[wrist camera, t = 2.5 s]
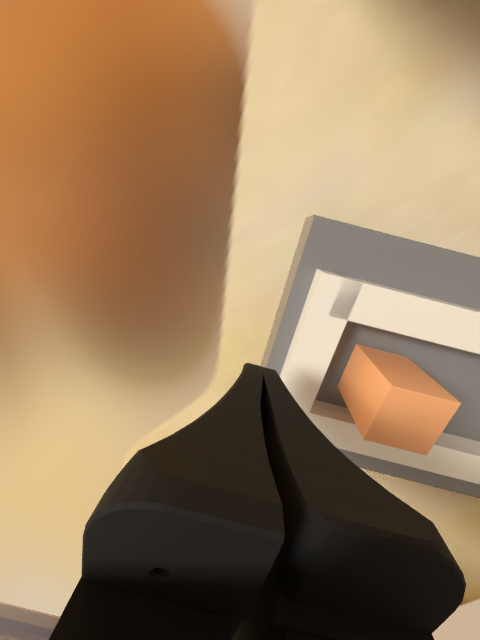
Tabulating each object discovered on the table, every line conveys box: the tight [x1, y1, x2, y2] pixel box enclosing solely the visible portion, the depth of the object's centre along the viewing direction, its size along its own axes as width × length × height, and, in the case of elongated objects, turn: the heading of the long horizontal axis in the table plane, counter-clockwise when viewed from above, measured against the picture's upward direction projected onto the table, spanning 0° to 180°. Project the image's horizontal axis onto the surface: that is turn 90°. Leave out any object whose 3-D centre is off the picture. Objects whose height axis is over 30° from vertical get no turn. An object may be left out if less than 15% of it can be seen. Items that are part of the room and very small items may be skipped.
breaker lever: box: [337, 344, 461, 456], centre depth 13 cm, size 3×3×4 cm
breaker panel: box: [261, 215, 480, 498], centre depth 16 cm, size 15×24×4 cm, turn 76°
